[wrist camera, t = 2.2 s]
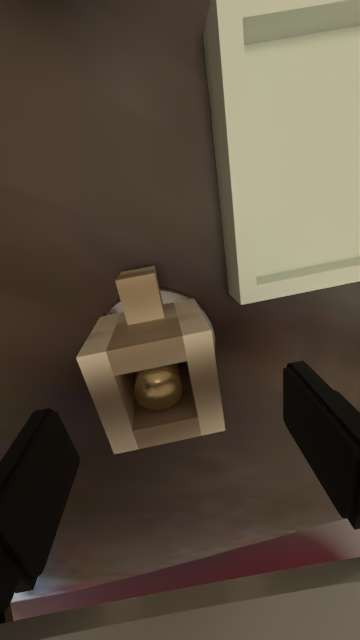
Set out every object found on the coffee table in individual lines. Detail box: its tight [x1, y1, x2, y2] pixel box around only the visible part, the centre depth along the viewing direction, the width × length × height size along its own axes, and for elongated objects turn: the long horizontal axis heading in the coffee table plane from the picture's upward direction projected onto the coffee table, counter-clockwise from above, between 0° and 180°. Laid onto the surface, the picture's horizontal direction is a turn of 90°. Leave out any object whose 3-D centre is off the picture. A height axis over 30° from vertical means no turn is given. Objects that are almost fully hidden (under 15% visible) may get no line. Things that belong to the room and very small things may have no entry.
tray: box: [203, 0, 360, 305], centre depth 13 cm, size 13×13×2 cm
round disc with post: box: [105, 287, 215, 410], centre depth 15 cm, size 8×8×6 cm
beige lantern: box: [76, 266, 225, 454], centre depth 13 cm, size 8×6×5 cm
